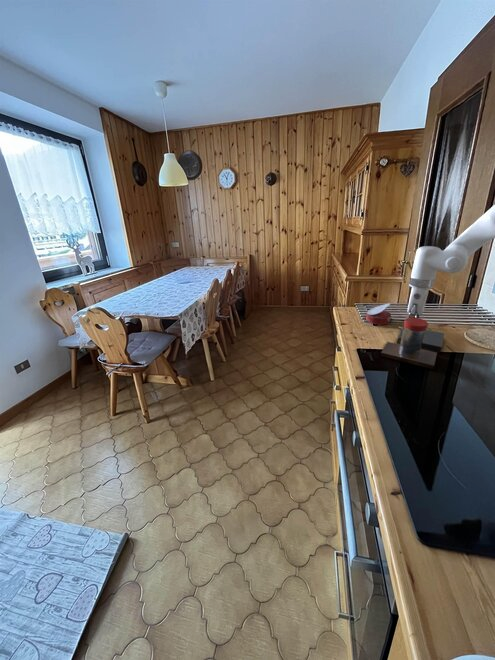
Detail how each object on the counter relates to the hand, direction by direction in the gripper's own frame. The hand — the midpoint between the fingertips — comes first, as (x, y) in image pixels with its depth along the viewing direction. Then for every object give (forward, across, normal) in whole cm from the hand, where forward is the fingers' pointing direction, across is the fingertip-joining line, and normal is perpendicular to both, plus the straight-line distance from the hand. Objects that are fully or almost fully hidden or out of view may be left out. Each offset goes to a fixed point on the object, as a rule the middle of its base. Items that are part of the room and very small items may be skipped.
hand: (411, 324), depth 110 cm
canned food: (+5, +9, +14) cm, 17 cm away
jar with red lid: (+3, -16, -2) cm, 17 cm away
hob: (+5, -3, -4) cm, 7 cm away
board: (+5, -16, -2) cm, 17 cm away
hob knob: (+2, 0, 0) cm, 2 cm away
